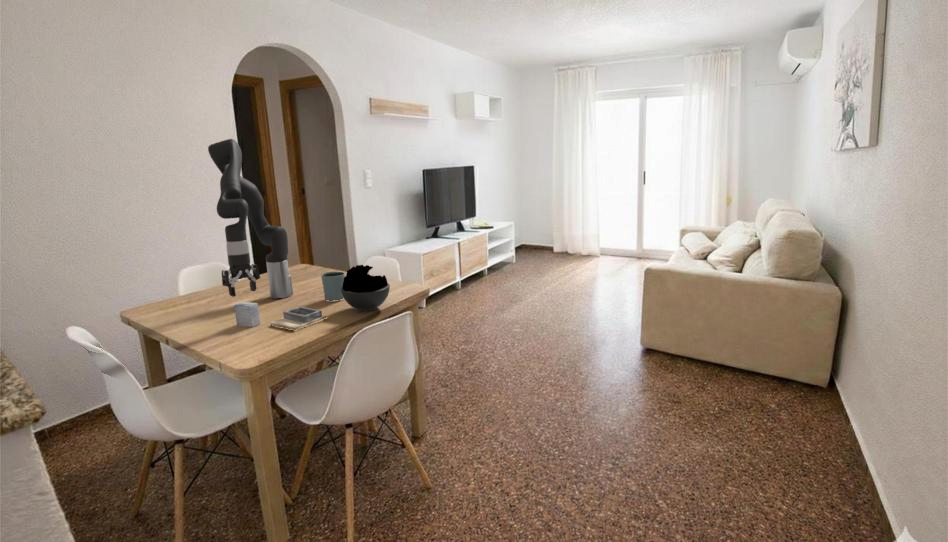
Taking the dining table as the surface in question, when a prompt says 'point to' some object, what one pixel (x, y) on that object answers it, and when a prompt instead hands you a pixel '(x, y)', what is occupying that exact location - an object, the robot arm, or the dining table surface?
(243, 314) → the medicine box
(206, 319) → the dining table surface
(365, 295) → the coal bowl
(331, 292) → the teal cup
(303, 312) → the jig
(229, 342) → the dining table surface
